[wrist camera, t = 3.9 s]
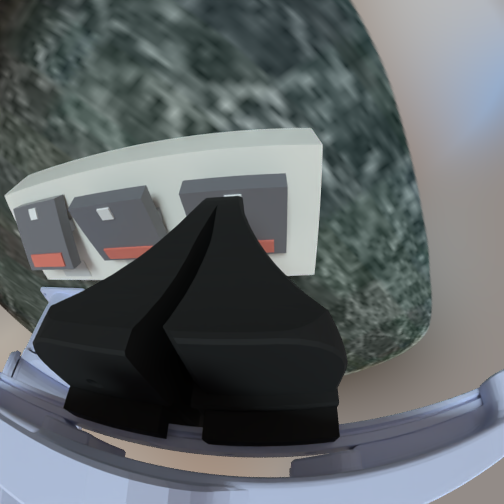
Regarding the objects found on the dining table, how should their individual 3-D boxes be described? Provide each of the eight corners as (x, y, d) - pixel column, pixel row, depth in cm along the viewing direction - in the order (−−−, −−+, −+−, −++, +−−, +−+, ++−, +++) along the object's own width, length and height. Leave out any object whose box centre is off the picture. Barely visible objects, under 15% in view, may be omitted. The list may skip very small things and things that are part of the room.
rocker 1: (81, 262, 17) (73, 270, 16) (39, 263, 17) (31, 270, 16) (63, 194, 15) (52, 199, 14) (22, 204, 15) (12, 209, 14)
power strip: (307, 243, 21) (315, 279, 18) (64, 254, 23) (45, 283, 20) (311, 128, 16) (324, 147, 13) (28, 175, 17) (0, 198, 14)
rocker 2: (173, 244, 17) (170, 259, 17) (108, 248, 18) (104, 262, 17) (146, 184, 13) (140, 200, 13) (74, 196, 14) (66, 211, 13)
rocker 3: (285, 239, 17) (286, 254, 16) (203, 242, 17) (201, 258, 16) (285, 172, 13) (288, 188, 12) (182, 179, 13) (178, 195, 12)
